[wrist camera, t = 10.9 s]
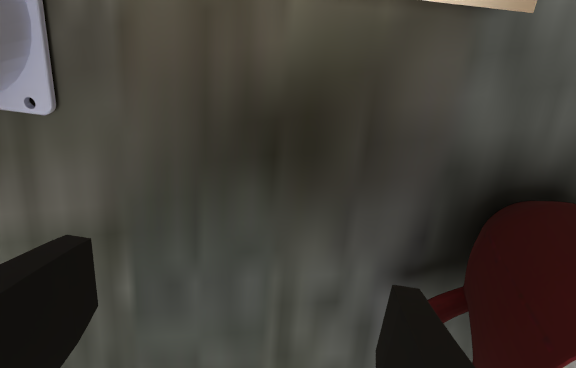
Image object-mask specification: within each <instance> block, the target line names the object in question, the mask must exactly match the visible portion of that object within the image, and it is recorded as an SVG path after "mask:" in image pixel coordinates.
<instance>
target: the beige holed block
mask: <svg viewBox="0 0 576 368" xmlns="http://www.w3.org/2000/svg"><path fill="white" fill-rule="evenodd" d="M424 1H433V2H441V3H450V4H459V5H468V6H477V7H485V8H494V9H503V10H512V11H521V12H529V13H533V12H534V9H535V6H536V3H537V0H424Z"/></svg>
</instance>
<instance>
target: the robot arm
mask: <svg viewBox="0 0 576 368" xmlns="http://www.w3.org/2000/svg"><path fill="white" fill-rule="evenodd" d="M30 98H32V99H33V100H34V101H35V106H33V105H32V104H31V103H30V100H29V99H30ZM55 108H56V100H55V92H54V85H53V77H52V70H51V62H50V54H49V47H48V39H47V31H46V24H45V16H44V8H43V1H42V0H0V110H8V111H15V112H23V113H31V114H38V115H47V114H49V113H51V112H53V111H54V110H55ZM97 307H98V299H97V290H96V281H95V271H94V262H93V253H92V243H91V238H84V237H78V236H71V235H65V236H62V237H60V238H57V239H55V240H52V241H50V242H48V243H46V244H43V245H41V246H39V247H37V248H35V249H32V250H30V251H28V252H26V253H24V254H22V255H20V256H17V257H15V258H13V259H11V260H9V261H7V262H4V263H2V264H0V368H60V367H61V366H62V364H63V363H64V362H65V360H66V359H67V358H68V356H69V355H70V353H71V352H72V351H73V349H74V348H75V346H76V345H77V343H78V342H79V340H80V338H81V336H82V335H83V333H84V331H85V329H86V328H87V326H88V324H89V322H90V320H91V318H92V316H93V314H94V312H95V311H96V309H97ZM376 368H475V366H474V365H473V364H472V362H471V361H470V360H469V358H468V357H467V356H466V354H465V353H464V352H463V350H462V349H461V348H460V346H459V345H458V344H457V342H456V341H455V340H454V338H453V337H452V335H451V334H450V333H449V331H448V330H447V328H446V327H445V325H444V324H443V323H442V321H441V320H440V318H439V317H438V315H437V314H436V312H435V311H434V309H433V308H432V306H431V305H430V303H429V302H428V301H427V299H426V298H425V296H424V295H423V293H422V292H421V291H420V289H417V288H410V287H404V286H397V285H392V289H391V292H390V296H389V300H388V304H387V308H386V312H385V316H384V320H383V324H382V328H381V332H380V336H379V340H378V344H377V348H376Z"/></svg>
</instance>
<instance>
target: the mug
mask: <svg viewBox="0 0 576 368" xmlns="http://www.w3.org/2000/svg"><path fill="white" fill-rule="evenodd" d="M427 301H428V302H429V303H430V305H431V306H432V308H433V309H434V311H435V312H436V314H437V315H438V317H439V318H440V320H441V321H442V323H445V322H446V321H448V320H450V319H452V318H454V317H456V316H458V315H460V314H463V313H465V312H468V311H469V318H470V326H471V335H472V348H473V363H472V364H473V365H474V366H475V368H576V204H573V203H566V202H556V201H524V202H519V203H515V204H512V205H509V206H507V207H505V208H503V209H501V210H499V211H498V212H496V213H495V214H494V215H493V216H492V217H491V218H490V219H488V221H487V222H486V223H485V224H484V226H483V228H482V229H481V231H480V233H479V235H478V237H477V239H476V241H475V243H474V246H473V248H472V251H471V253H470V256H469V260H468V264H467V269H466V275H465V282H464V286H463V287H460V288H457V289H454V290H451V291H448V292H445V293H443V294H440V295H437V296H435V297H433V298H431V299H429V300H427Z"/></svg>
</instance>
